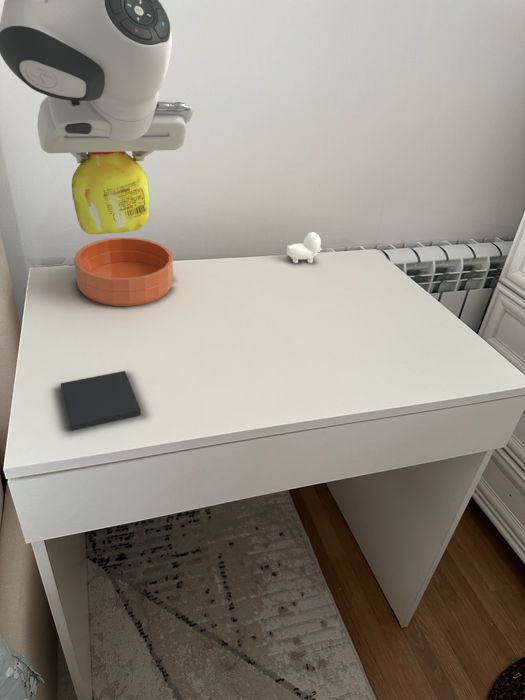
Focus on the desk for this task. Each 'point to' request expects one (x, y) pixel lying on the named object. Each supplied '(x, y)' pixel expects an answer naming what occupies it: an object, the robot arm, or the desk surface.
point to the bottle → (110, 193)
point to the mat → (99, 400)
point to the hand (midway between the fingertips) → (109, 158)
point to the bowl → (124, 271)
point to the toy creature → (305, 248)
